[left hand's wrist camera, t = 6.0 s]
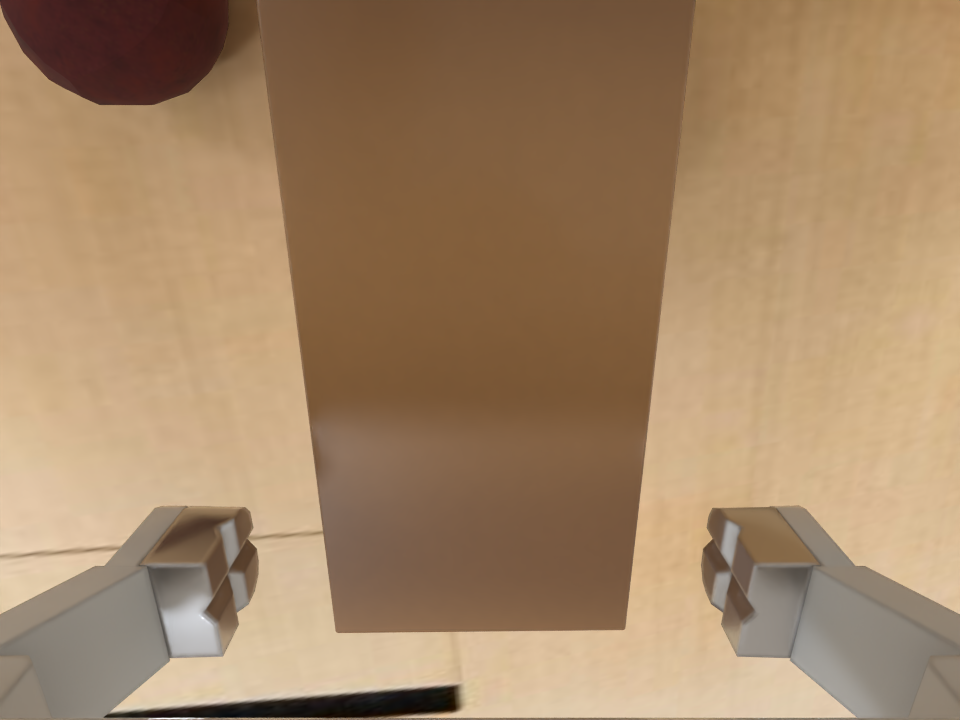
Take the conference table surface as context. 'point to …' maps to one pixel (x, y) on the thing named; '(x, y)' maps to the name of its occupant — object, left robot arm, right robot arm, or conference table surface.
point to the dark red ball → (121, 45)
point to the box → (477, 293)
